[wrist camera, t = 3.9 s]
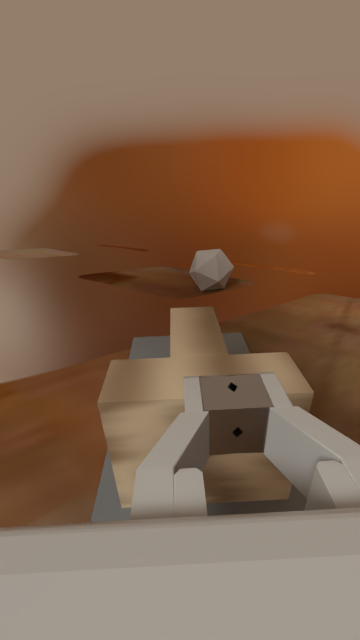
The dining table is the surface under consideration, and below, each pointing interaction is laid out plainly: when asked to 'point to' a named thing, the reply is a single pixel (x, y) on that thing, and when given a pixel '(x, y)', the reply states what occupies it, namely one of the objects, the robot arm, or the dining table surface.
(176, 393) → the t block
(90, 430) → the dining table surface
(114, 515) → the t mat
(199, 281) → the die
